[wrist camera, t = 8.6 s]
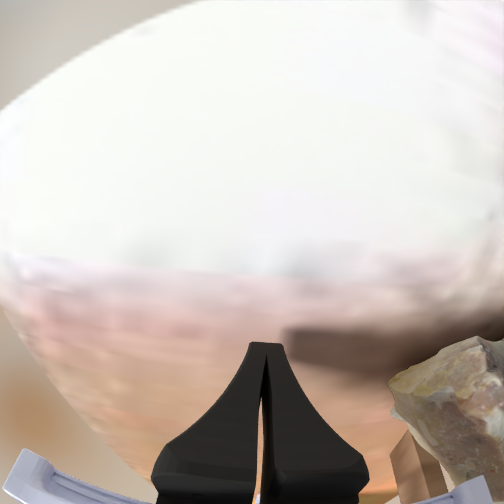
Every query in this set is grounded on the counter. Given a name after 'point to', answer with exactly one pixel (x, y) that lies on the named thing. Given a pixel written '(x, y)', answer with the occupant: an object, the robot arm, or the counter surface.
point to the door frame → (416, 472)
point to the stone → (458, 410)
